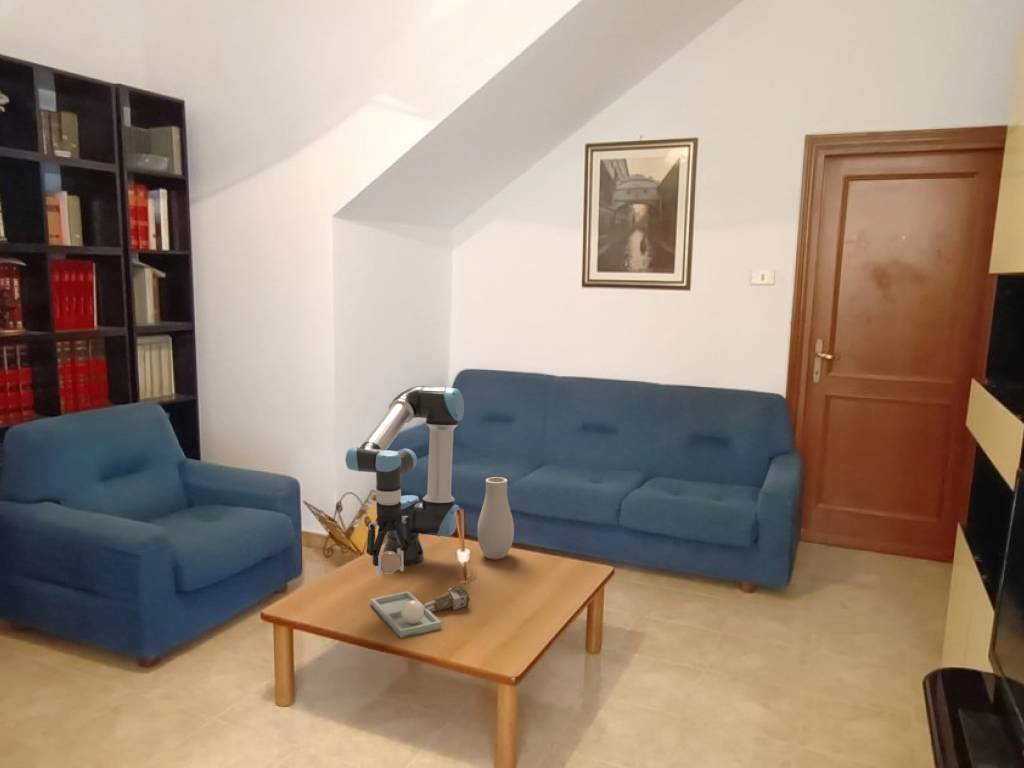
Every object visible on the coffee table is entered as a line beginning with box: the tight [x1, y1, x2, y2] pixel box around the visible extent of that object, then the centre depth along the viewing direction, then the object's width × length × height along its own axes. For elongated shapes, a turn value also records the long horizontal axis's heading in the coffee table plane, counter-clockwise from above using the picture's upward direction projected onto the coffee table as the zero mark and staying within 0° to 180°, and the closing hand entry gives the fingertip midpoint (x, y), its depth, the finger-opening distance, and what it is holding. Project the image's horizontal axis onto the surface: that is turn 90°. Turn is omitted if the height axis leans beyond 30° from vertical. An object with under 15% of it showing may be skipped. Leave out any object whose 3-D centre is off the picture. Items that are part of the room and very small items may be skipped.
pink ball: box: [380, 551, 401, 575], centre depth 241 cm, size 7×7×7 cm
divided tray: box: [370, 591, 442, 639], centre depth 239 cm, size 13×25×2 cm, turn 30°
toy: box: [423, 583, 471, 612], centre depth 245 cm, size 7×7×15 cm
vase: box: [476, 476, 515, 561], centre depth 287 cm, size 14×14×30 cm
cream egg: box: [401, 600, 424, 624], centre depth 233 cm, size 7×7×7 cm
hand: (389, 572), depth 241 cm, fingers closed on pink ball, 7 cm apart
